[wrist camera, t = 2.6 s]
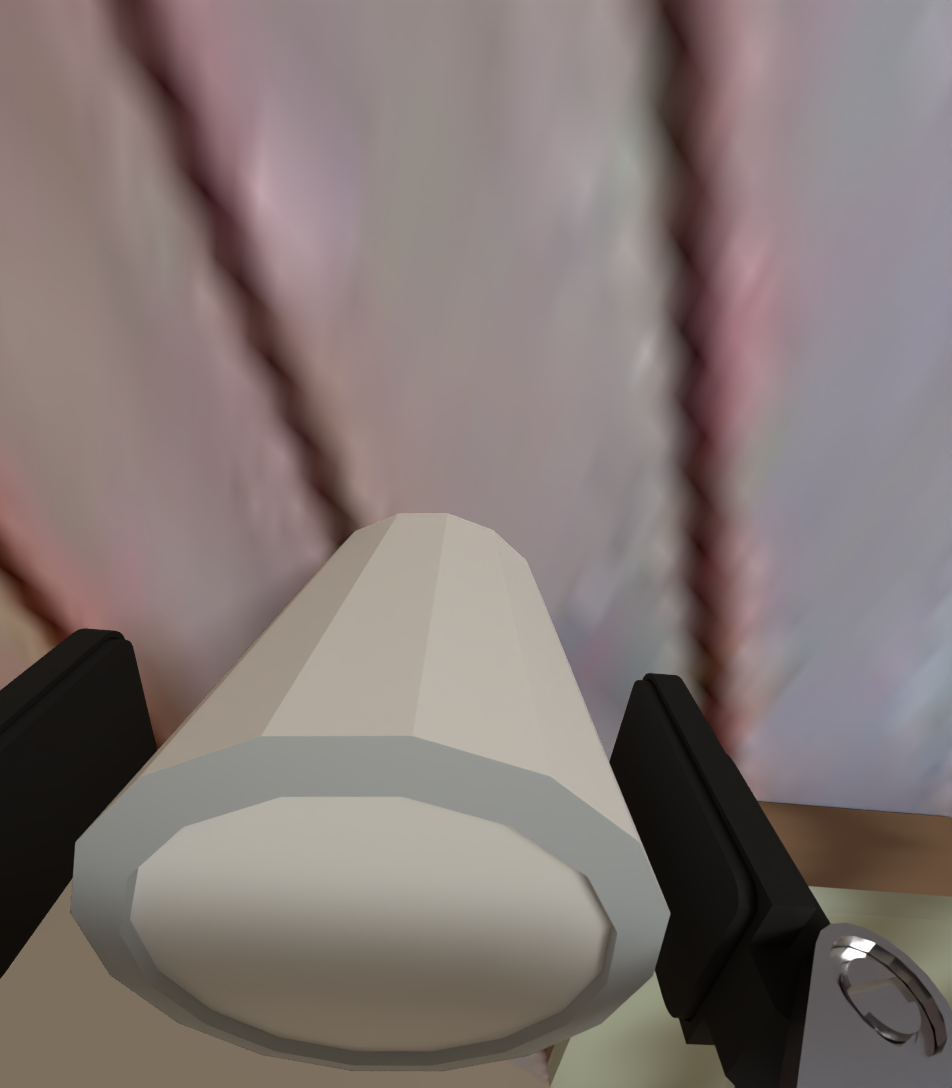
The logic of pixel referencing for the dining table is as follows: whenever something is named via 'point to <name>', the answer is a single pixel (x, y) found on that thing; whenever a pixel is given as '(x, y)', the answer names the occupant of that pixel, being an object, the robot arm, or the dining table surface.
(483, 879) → the beige cylinder
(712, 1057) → the plinth
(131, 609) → the dining table surface
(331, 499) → the dining table surface
